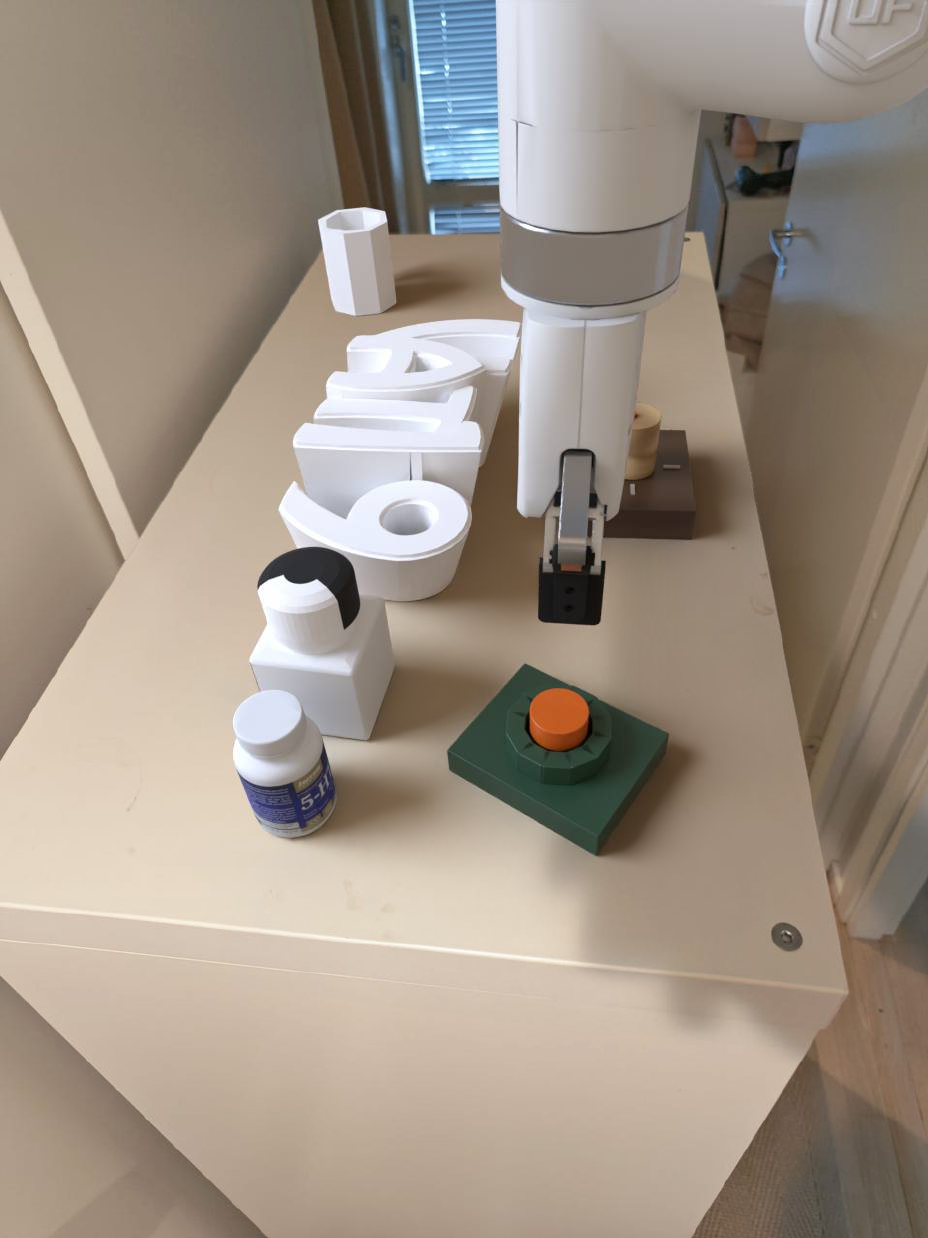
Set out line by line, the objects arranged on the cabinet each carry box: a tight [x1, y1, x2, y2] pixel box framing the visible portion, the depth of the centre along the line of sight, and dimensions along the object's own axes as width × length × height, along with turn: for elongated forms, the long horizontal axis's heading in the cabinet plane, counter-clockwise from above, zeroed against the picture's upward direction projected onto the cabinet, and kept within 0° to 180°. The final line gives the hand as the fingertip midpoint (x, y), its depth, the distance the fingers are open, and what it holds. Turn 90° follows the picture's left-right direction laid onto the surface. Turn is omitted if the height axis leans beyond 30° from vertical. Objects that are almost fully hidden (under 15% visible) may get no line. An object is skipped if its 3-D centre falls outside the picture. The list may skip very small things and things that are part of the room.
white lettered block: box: [278, 318, 522, 602], centre depth 73 cm, size 35×16×11 cm, turn 167°
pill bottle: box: [232, 690, 338, 839], centre depth 51 cm, size 5×5×9 cm
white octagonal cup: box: [317, 207, 398, 317], centre depth 104 cm, size 12×9×10 cm
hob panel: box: [587, 429, 697, 540], centre depth 74 cm, size 12×10×3 cm
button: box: [530, 688, 589, 751], centre depth 52 cm, size 4×4×2 cm
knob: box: [625, 402, 662, 480], centre depth 71 cm, size 4×4×5 cm
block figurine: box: [249, 547, 396, 741], centre depth 56 cm, size 7×7×12 cm
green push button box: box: [446, 663, 670, 857], centre depth 54 cm, size 11×9×4 cm
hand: (573, 558), depth 47 cm, fingers open, 9 cm apart
